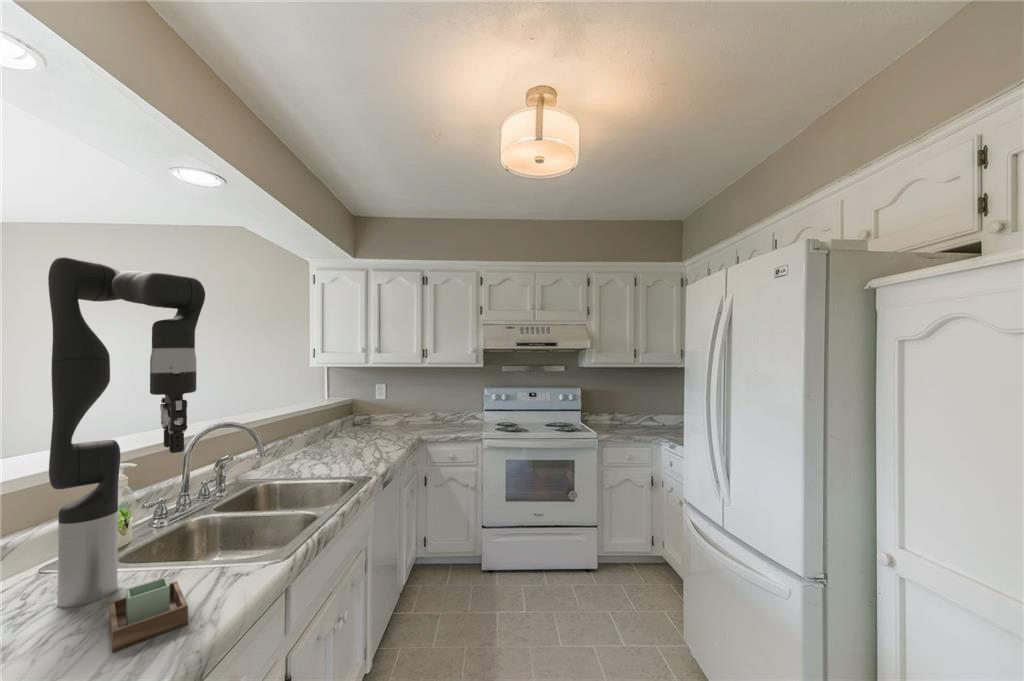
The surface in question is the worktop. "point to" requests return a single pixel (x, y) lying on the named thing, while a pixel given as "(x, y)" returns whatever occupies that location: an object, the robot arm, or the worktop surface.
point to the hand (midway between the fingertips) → (173, 449)
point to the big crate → (146, 621)
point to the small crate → (147, 600)
